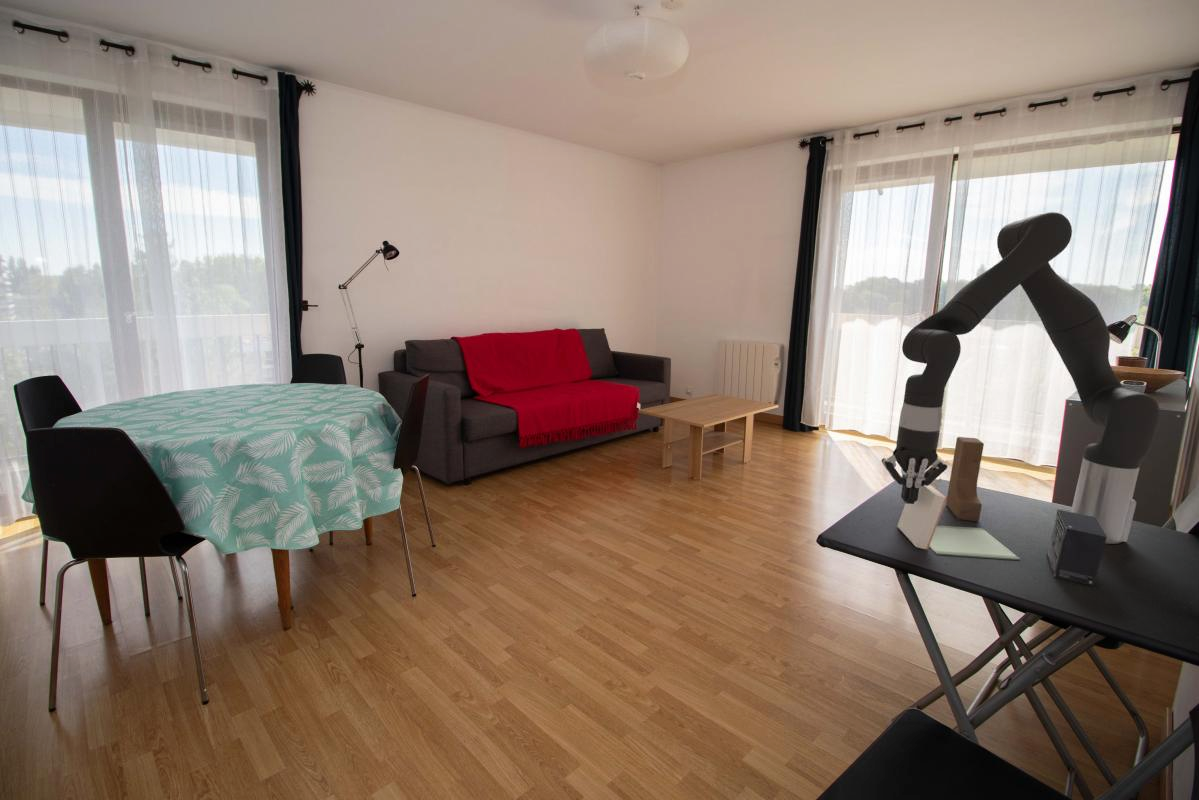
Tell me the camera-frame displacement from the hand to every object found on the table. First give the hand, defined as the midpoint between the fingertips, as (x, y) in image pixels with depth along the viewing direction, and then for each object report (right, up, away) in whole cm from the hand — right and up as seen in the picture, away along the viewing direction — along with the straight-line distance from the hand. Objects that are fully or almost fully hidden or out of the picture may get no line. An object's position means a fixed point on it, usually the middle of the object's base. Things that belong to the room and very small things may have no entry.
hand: (908, 502), depth 120 cm
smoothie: (+11, -5, +15) cm, 20 cm away
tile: (+2, -8, +2) cm, 8 cm away
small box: (+26, -12, -11) cm, 30 cm away
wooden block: (+21, -6, +15) cm, 27 cm away
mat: (+12, -9, +1) cm, 14 cm away
